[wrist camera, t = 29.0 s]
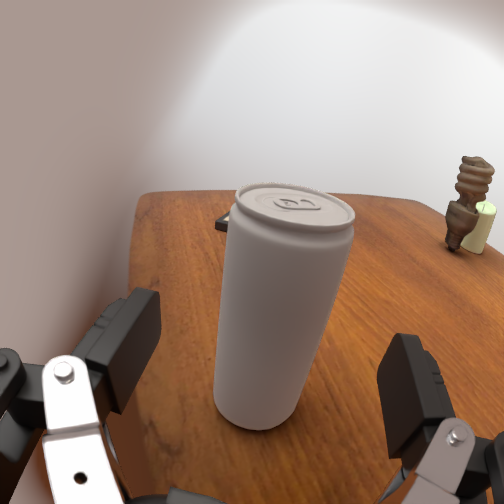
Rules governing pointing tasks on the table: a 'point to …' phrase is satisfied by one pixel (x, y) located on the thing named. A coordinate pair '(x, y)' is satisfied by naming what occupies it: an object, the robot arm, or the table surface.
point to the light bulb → (467, 199)
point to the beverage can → (276, 297)
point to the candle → (480, 228)
